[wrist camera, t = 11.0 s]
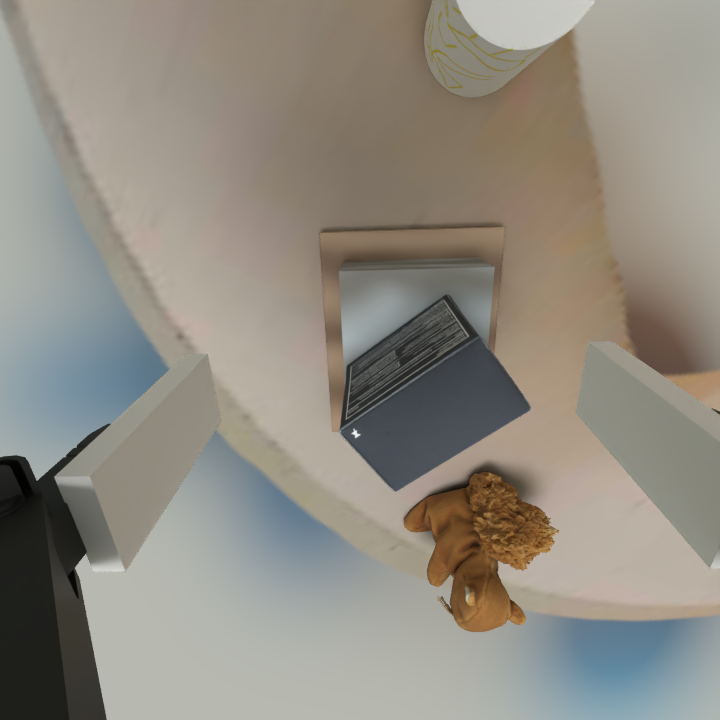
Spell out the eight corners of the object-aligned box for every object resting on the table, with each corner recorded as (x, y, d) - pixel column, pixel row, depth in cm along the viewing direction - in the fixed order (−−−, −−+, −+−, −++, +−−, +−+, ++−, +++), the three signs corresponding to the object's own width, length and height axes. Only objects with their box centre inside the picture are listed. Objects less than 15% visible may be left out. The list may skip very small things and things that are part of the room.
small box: (389, 419, 37) (394, 499, 28) (343, 366, 36) (331, 431, 26) (491, 352, 35) (537, 414, 25) (447, 290, 33) (478, 331, 23)
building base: (321, 231, 38) (310, 238, 32) (500, 225, 37) (524, 232, 31) (333, 424, 45) (327, 460, 39) (483, 422, 44) (500, 458, 38)
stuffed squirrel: (397, 521, 50) (404, 628, 38) (476, 440, 45) (513, 531, 33) (461, 559, 52) (488, 673, 40) (543, 485, 47) (602, 587, 35)
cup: (402, 32, 32) (416, -53, 21) (489, -62, 30) (557, -213, 19) (466, 121, 34) (510, 86, 23) (552, 39, 32) (647, -43, 21)
